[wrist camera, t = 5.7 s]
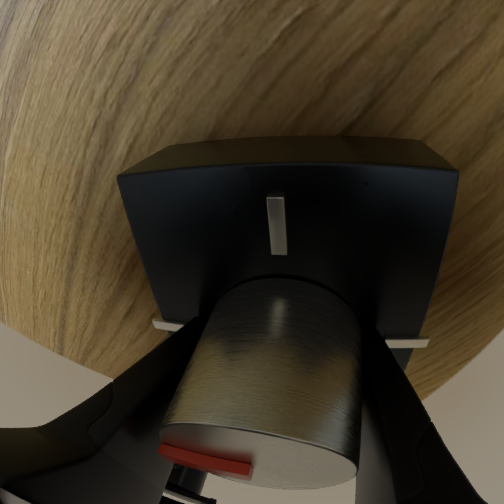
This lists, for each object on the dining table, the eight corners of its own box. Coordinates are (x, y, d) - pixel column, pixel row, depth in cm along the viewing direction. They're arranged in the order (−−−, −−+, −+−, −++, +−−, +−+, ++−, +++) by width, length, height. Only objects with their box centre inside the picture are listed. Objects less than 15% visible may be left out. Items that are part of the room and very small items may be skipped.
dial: (371, 279, 7) (382, 455, 3) (351, 382, 9) (341, 503, 6) (197, 272, 8) (117, 413, 4) (225, 371, 10) (186, 479, 7)
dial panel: (386, 362, 13) (389, 420, 10) (211, 350, 15) (190, 401, 12) (430, 141, 7) (475, 175, 5) (160, 146, 9) (102, 179, 7)
